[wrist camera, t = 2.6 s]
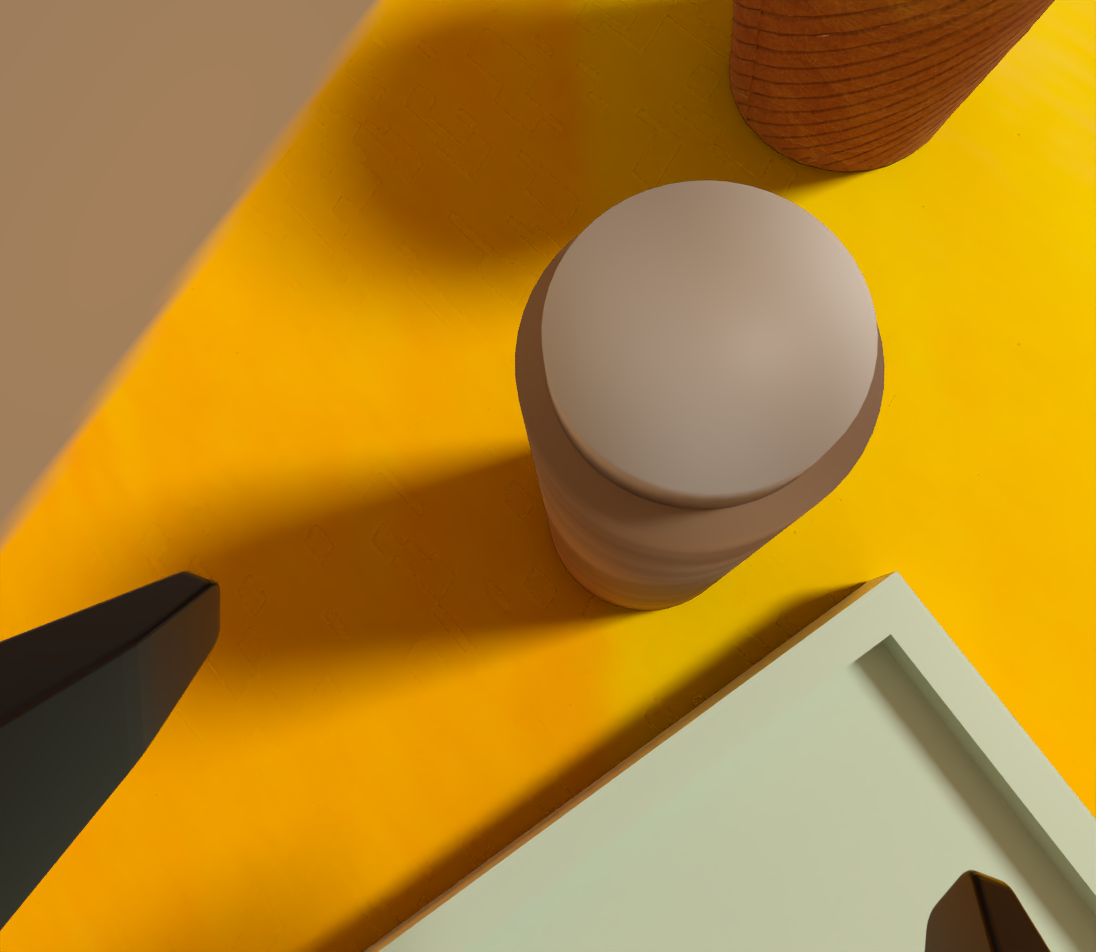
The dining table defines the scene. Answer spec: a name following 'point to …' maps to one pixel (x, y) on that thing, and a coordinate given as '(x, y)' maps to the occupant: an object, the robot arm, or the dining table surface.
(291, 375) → the dining table surface
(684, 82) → the dining table surface
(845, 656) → the tray
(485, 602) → the dining table surface
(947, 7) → the disposable coffee cup
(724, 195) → the pepper mill
